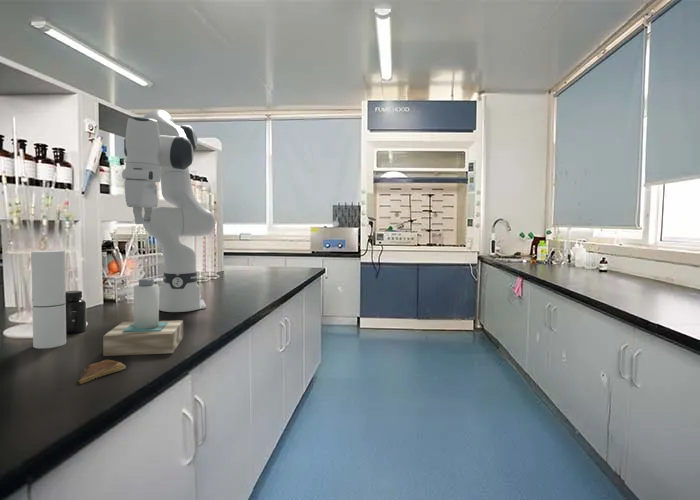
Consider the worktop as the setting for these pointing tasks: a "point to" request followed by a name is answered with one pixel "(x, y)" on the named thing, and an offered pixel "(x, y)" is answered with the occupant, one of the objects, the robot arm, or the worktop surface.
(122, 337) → the birch plinth
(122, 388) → the worktop surface
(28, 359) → the worktop surface
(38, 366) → the worktop surface
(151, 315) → the white bottle
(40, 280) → the cylindrical container
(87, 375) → the shard
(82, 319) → the supplement bottle
